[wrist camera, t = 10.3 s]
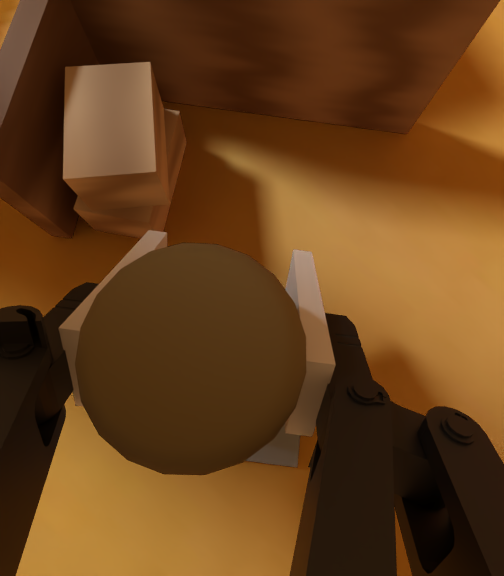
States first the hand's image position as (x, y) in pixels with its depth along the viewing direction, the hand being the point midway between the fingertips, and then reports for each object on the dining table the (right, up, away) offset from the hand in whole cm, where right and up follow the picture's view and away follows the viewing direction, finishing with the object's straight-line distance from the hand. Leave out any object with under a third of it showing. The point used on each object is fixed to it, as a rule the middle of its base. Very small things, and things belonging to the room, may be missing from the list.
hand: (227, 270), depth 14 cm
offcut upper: (-6, +6, +4) cm, 9 cm away
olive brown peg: (-1, -5, +3) cm, 6 cm away
